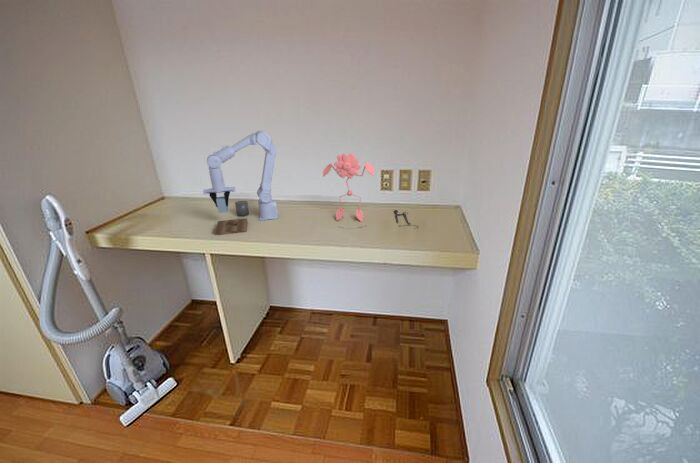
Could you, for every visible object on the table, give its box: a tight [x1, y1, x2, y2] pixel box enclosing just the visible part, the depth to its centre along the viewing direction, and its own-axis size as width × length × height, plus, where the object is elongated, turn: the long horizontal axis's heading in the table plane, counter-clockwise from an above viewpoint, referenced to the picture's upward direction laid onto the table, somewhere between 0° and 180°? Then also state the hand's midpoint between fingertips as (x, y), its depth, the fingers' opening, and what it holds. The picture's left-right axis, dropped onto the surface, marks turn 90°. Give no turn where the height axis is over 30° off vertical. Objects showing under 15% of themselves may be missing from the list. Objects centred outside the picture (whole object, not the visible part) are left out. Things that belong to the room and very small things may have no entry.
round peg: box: [234, 200, 250, 218], centre depth 175 cm, size 6×6×7 cm
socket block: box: [214, 217, 249, 236], centre depth 158 cm, size 14×12×2 cm
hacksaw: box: [393, 209, 419, 230], centre depth 165 cm, size 24×10×2 cm, turn 177°
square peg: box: [216, 195, 229, 213], centre depth 161 cm, size 4×4×7 cm
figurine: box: [322, 152, 375, 229], centre depth 155 cm, size 15×26×35 cm, turn 78°
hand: (222, 206), depth 161 cm, fingers closed on square peg, 4 cm apart
